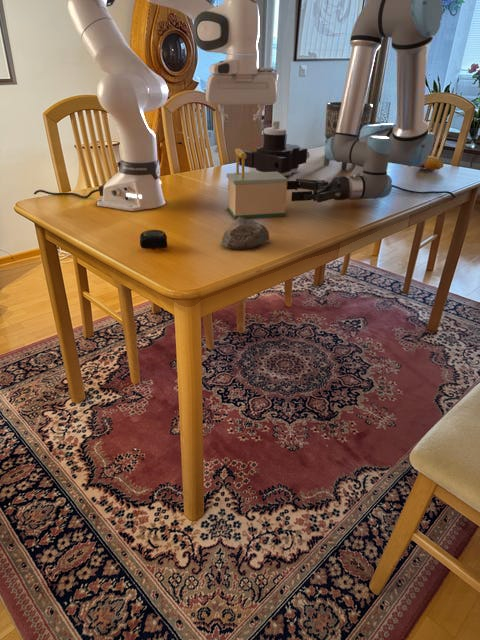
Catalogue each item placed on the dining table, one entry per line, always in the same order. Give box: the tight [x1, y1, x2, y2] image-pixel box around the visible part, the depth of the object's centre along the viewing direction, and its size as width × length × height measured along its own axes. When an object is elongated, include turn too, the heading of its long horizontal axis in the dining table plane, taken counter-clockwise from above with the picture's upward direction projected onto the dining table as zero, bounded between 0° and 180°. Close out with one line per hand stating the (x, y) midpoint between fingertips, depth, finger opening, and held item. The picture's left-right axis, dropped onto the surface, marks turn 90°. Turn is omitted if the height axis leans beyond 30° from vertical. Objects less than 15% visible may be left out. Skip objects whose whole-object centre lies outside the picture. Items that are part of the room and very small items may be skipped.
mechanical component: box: [239, 120, 311, 177], centre depth 191 cm, size 22×21×30 cm
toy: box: [418, 155, 445, 172], centre depth 208 cm, size 11×6×15 cm
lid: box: [226, 147, 288, 185], centre depth 139 cm, size 17×10×9 cm, turn 103°
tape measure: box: [139, 229, 168, 250], centre depth 117 cm, size 7×7×4 cm
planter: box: [323, 101, 374, 172], centre depth 204 cm, size 20×20×26 cm
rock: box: [221, 217, 270, 250], centre depth 119 cm, size 13×9×6 cm, turn 131°
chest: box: [227, 178, 288, 220], centre depth 144 cm, size 16×10×10 cm, turn 104°
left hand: (241, 121), depth 132 cm, fingers open, 8 cm apart
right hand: (284, 191), depth 145 cm, fingers open, 13 cm apart
